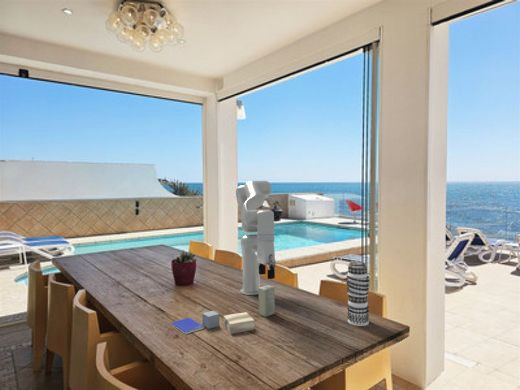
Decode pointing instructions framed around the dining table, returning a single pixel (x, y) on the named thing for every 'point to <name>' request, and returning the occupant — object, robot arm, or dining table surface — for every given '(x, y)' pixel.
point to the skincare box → (266, 300)
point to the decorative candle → (357, 293)
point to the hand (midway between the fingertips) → (266, 276)
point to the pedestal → (239, 322)
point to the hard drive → (187, 325)
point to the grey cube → (210, 319)
